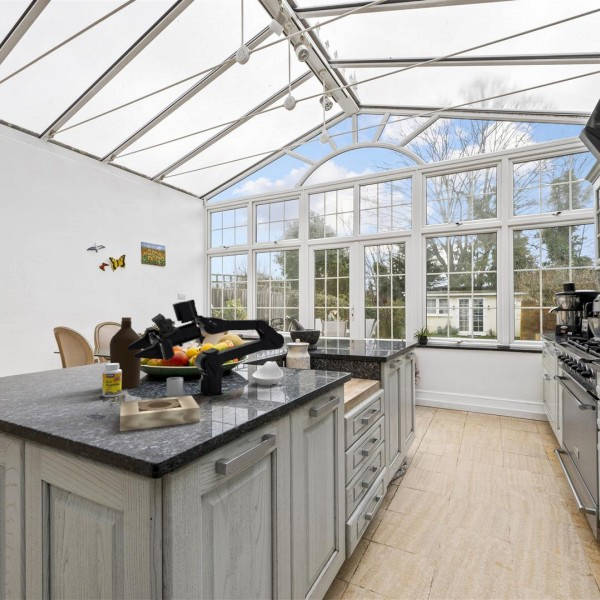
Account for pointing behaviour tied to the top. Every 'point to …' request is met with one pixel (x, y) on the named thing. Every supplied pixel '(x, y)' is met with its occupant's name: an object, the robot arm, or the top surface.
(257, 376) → the spoon rest
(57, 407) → the top surface
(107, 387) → the supplement bottle
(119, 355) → the olive oil
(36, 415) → the top surface
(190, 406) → the jig plate
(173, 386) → the cylinder
